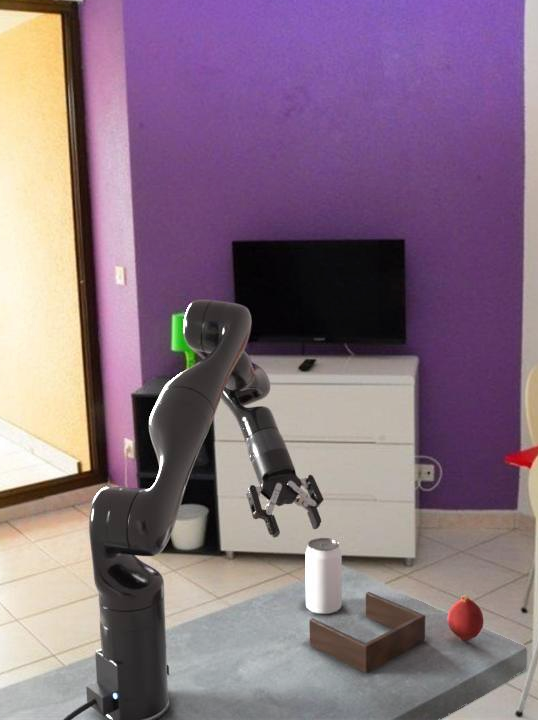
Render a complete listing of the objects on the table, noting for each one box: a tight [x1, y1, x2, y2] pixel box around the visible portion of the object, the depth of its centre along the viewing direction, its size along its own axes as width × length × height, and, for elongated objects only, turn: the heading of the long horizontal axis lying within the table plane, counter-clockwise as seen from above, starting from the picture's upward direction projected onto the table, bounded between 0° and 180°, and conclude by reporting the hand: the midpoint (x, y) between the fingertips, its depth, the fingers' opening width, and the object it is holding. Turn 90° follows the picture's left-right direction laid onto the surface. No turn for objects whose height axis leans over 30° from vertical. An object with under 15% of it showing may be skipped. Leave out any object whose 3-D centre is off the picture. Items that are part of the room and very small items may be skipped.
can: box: [305, 537, 343, 615], centre depth 162 cm, size 6×6×12 cm
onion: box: [446, 595, 485, 642], centre depth 150 cm, size 6×6×8 cm
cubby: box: [309, 591, 426, 674], centre depth 150 cm, size 15×13×4 cm
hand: (297, 531), depth 170 cm, fingers open, 8 cm apart
